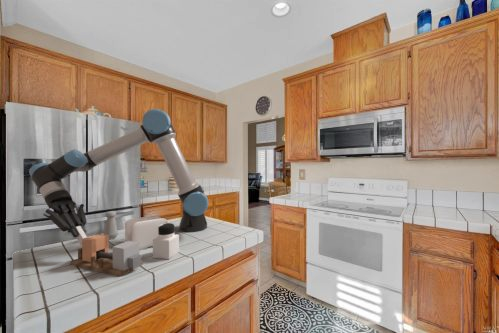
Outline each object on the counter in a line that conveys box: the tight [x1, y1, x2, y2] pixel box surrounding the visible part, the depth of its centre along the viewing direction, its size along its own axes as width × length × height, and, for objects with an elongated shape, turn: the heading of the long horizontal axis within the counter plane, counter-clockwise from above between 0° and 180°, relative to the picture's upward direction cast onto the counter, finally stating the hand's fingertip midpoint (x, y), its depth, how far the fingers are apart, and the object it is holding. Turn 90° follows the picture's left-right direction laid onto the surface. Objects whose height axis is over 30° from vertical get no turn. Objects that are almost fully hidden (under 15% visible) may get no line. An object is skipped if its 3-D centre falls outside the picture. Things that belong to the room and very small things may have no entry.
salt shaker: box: [103, 210, 119, 241], centre depth 102 cm, size 6×6×13 cm
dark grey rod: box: [96, 251, 113, 260], centre depth 76 cm, size 19×2×2 cm, turn 70°
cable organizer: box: [124, 214, 168, 251], centre depth 94 cm, size 15×11×12 cm
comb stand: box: [69, 247, 144, 277], centre depth 75 cm, size 24×9×5 cm, turn 70°
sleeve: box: [81, 233, 110, 262], centre depth 77 cm, size 5×6×8 cm
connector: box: [112, 241, 142, 271], centre depth 71 cm, size 7×6×7 cm
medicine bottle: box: [152, 222, 180, 260], centre depth 83 cm, size 7×7×12 cm
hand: (84, 242), depth 79 cm, fingers closed
